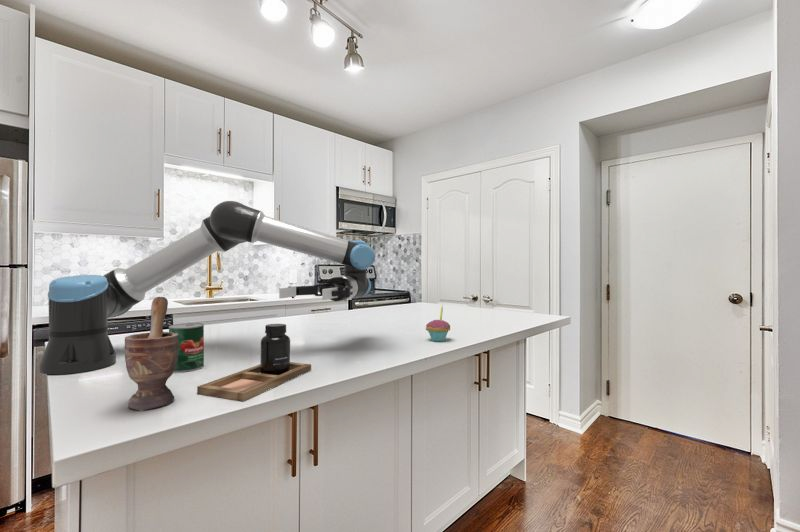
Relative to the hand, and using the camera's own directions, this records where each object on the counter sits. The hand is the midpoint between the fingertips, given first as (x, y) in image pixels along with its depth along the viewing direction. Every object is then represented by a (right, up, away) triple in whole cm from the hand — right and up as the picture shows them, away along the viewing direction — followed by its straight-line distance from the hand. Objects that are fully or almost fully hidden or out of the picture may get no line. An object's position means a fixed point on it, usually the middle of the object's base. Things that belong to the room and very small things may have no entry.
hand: (301, 293), depth 102 cm
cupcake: (+40, -19, +31) cm, 54 cm away
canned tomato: (-28, -19, -4) cm, 34 cm away
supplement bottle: (-4, -19, -9) cm, 21 cm away
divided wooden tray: (-6, -19, -15) cm, 24 cm away
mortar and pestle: (-22, -19, -27) cm, 40 cm away
